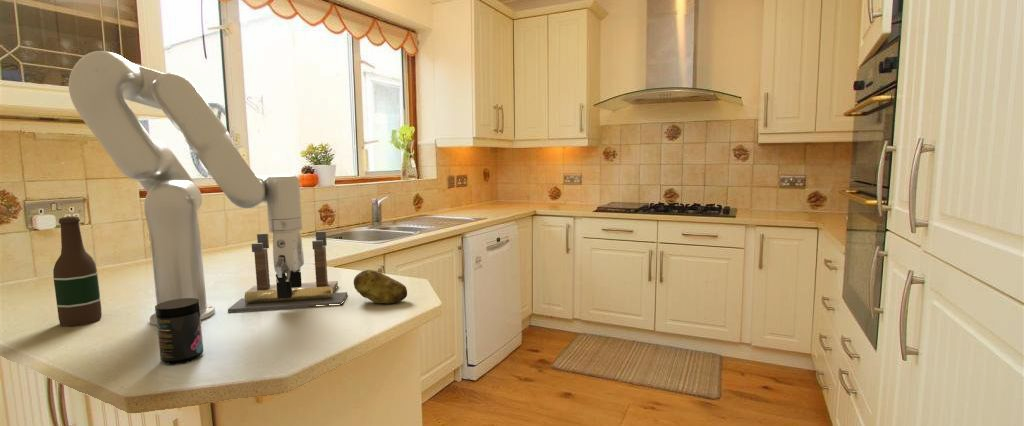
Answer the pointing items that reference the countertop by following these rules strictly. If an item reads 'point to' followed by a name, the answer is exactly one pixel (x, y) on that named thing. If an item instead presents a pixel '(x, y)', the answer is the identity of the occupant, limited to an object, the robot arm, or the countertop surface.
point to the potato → (379, 287)
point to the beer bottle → (75, 279)
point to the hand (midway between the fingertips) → (290, 292)
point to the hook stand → (321, 281)
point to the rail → (296, 295)
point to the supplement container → (179, 330)
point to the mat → (286, 303)
